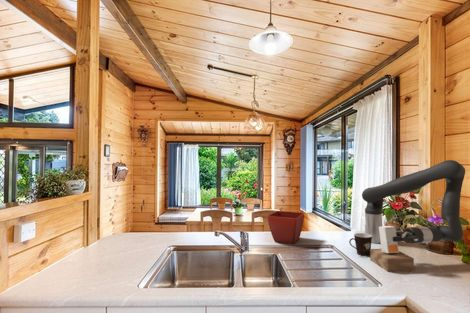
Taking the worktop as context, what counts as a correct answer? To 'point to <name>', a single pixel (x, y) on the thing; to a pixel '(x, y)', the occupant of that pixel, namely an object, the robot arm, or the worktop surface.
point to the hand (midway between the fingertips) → (386, 236)
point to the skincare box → (388, 239)
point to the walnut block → (392, 261)
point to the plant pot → (286, 226)
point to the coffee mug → (362, 243)
